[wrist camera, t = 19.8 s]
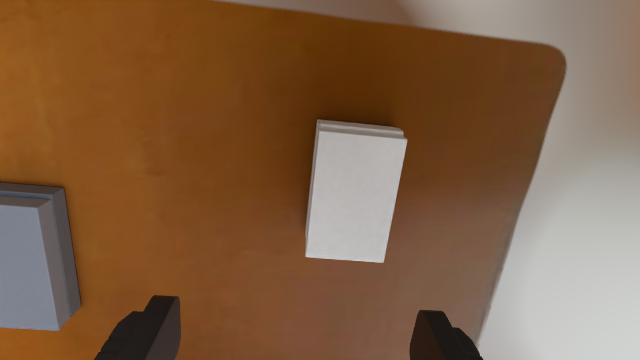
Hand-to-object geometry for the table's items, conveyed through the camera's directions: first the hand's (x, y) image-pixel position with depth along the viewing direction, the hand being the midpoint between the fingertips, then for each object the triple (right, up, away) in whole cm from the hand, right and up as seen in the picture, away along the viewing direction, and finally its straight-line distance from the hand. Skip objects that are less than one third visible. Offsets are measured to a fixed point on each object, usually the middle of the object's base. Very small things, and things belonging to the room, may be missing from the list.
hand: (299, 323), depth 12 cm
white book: (+3, +4, +16) cm, 16 cm away
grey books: (-24, -1, +19) cm, 31 cm away
